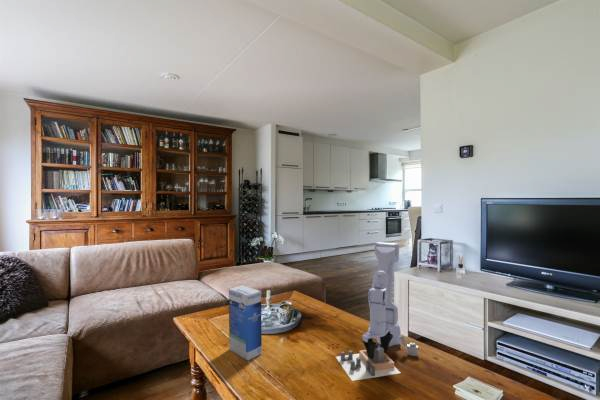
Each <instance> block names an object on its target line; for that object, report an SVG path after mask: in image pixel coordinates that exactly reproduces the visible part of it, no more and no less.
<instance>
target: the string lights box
mask: <svg viewBox="0 0 600 400" xmlns="http://www.w3.org/2000/svg"><path fill="white" fill-rule="evenodd" d="M228 323H229V324H228V326H229V327H228V329H229V330H228V333H229V334H228V337H229V339H228V340H229V341H228V342H229V346H228V347H229V350H230V351H231V352H233V353H235V354H237V355H239V357H241V358H243V359H244V360H247V361H250V360H252V359H254V358H256V357H258V356H260V355H262V353H263V352H262V351H263V350H262V345H263V344H262V343H263V342H262V340H263V339H262V291H261V290H259V289H255V288H252V287H249V286H246V285H242V284H241V285H238V286H235V287H231V288H228Z"/></svg>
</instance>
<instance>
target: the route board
mask: <svg viewBox="0 0 600 400" xmlns="http://www.w3.org/2000/svg"><path fill="white" fill-rule="evenodd" d="M367 357H368V356H367ZM335 358H336V360H337V361H338V363H339V364H340V365H341V367H342V369H343V370H344V371H345V373H346V374H347V376H348V377H349V379H350V380H351V382H354V381H360V380H367V379H372V378H373V379H374V378H380V377H385V376H386V377H387V376H391V375H398V374H401V371H399V369H398V368H397V367H396V366H394V368H390V369H383V370H377V371H375V367H374V366H371V362H370V361H366V363H365V362H364V361H363V360H362V358H361V357H360V356H359V353H354V354H353V350H348V355H347V354H346V353H345V351H340V355H339V356H338V355H337V356H335ZM384 362H386V361H385V360H384ZM373 364H374V363H373Z"/></svg>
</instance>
